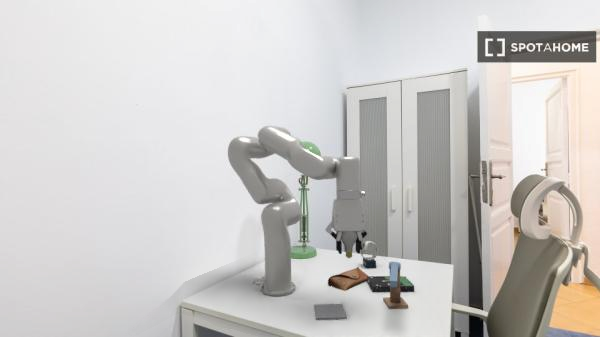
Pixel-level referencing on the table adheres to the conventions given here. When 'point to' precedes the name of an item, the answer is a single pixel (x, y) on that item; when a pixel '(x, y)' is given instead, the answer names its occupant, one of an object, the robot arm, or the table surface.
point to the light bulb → (349, 241)
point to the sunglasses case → (348, 279)
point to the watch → (370, 261)
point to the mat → (329, 311)
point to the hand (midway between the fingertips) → (348, 252)
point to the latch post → (395, 297)
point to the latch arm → (394, 273)
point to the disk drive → (388, 284)
